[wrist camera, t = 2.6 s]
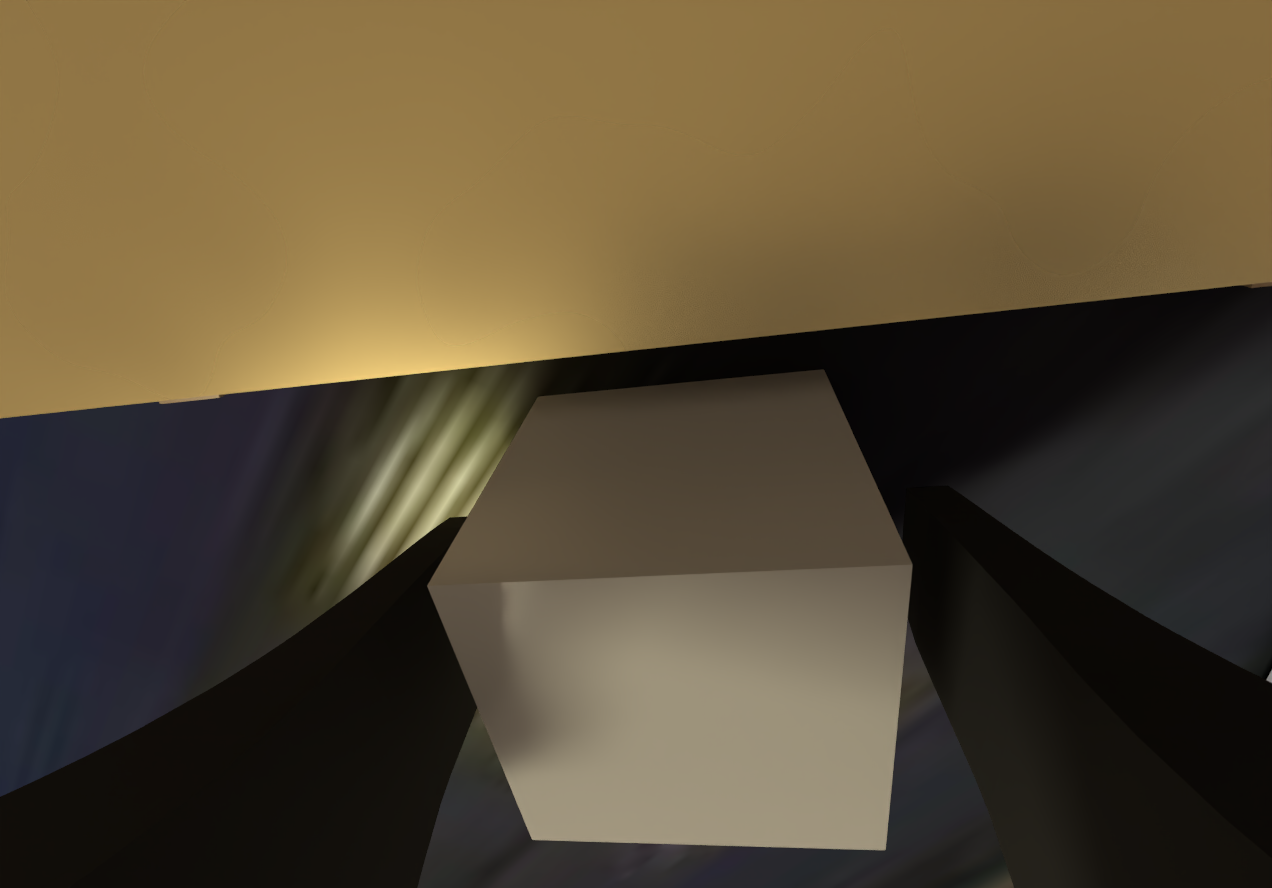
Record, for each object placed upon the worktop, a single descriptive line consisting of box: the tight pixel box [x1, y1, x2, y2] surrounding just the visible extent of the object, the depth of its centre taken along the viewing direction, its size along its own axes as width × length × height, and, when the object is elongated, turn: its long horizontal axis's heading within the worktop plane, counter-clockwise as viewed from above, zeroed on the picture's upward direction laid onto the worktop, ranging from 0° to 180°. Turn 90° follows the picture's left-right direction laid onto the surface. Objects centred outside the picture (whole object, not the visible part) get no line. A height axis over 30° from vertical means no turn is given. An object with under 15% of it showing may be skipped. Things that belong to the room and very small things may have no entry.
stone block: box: [427, 369, 913, 850], centre depth 9 cm, size 5×5×5 cm
